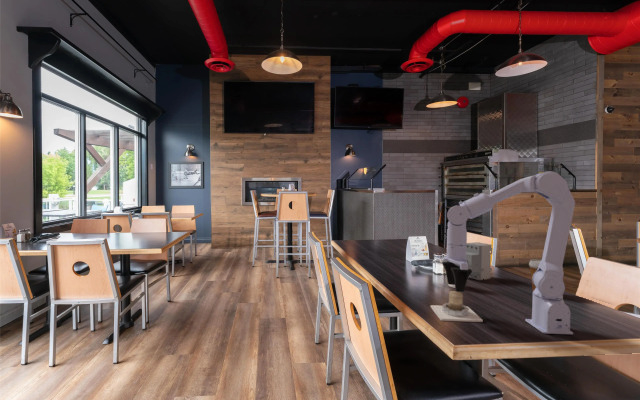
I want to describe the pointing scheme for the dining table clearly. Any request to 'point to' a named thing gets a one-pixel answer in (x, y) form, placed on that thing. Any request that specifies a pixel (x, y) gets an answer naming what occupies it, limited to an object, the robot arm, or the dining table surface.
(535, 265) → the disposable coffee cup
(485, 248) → the circuit breaker
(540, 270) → the robot arm
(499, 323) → the dining table surface
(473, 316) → the peg holder
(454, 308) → the maple peg
